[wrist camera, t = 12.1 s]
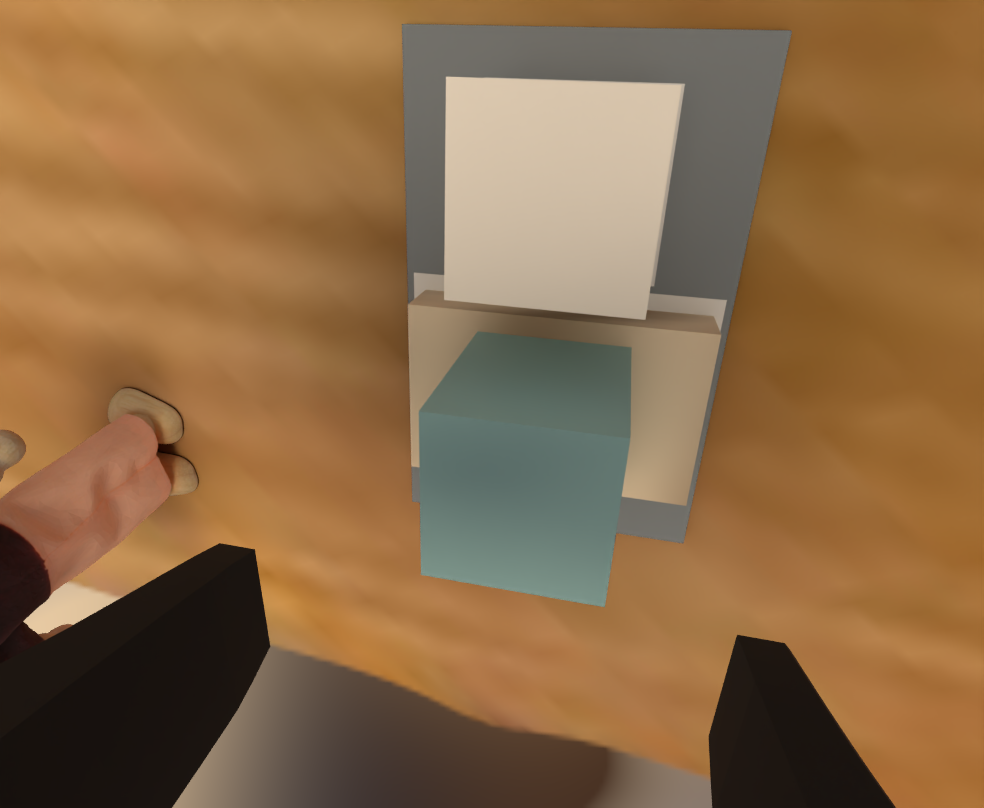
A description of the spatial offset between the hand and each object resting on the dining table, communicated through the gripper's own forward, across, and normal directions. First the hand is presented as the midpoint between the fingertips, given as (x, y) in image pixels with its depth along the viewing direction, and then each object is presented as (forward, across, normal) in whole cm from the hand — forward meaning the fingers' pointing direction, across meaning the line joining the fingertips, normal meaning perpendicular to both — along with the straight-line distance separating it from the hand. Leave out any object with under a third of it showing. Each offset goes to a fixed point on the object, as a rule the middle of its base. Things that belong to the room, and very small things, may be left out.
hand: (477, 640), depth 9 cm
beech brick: (+10, 0, 0) cm, 10 cm away
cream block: (+10, 0, -6) cm, 12 cm away
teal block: (+8, 0, 0) cm, 9 cm away
